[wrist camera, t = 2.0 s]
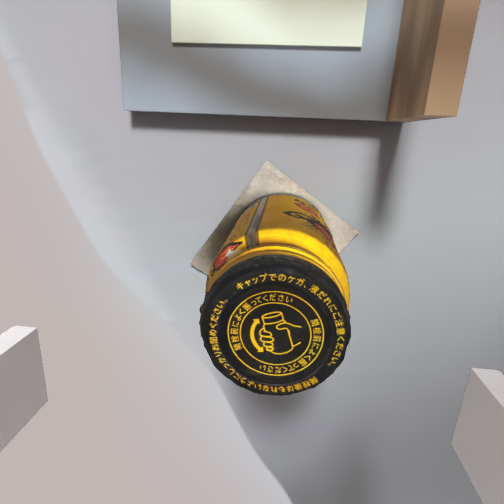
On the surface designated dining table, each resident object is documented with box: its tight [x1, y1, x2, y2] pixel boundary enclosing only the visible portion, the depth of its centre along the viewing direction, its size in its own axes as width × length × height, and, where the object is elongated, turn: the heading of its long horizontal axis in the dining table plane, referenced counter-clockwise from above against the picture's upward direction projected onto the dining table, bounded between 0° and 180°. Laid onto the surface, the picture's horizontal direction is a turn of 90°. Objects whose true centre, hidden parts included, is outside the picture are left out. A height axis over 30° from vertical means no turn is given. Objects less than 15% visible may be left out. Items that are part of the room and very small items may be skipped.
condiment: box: [190, 160, 359, 396], centre depth 18 cm, size 7×8×12 cm
